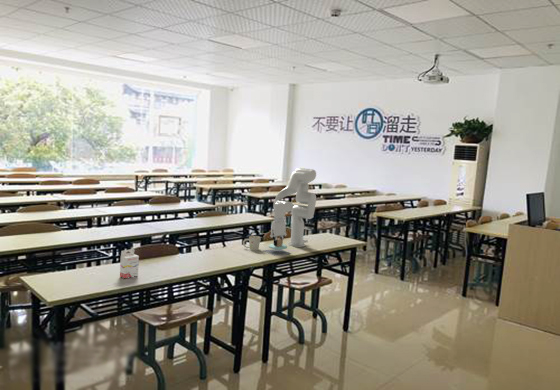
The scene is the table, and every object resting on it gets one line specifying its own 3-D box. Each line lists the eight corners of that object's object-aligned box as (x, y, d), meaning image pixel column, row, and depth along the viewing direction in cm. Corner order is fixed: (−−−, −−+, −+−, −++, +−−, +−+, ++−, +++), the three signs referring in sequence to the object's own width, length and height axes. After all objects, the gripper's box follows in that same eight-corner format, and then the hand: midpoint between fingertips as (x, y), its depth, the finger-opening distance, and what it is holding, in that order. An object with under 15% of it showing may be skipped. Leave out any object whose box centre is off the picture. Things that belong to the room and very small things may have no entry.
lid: (280, 243, 328) (280, 236, 327) (290, 248, 317) (291, 240, 316) (265, 245, 320) (265, 237, 319) (275, 250, 310) (275, 242, 309)
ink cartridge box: (124, 279, 241) (125, 252, 239) (119, 277, 244) (120, 250, 242) (138, 276, 247) (139, 250, 246) (133, 274, 250) (134, 248, 249)
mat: (279, 250, 329) (279, 248, 329) (291, 254, 317) (291, 253, 317) (262, 251, 320) (262, 250, 320) (274, 256, 308) (274, 255, 308)
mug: (259, 252, 318) (260, 238, 317) (241, 251, 318) (242, 237, 317) (260, 249, 326) (260, 236, 325) (243, 248, 326) (243, 235, 325)
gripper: (285, 218, 324) (284, 242, 326) (266, 219, 314) (265, 245, 317) (291, 220, 318) (290, 245, 320) (272, 221, 308) (271, 247, 311)
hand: (278, 244), depth 318 cm, fingers closed on lid, 4 cm apart
